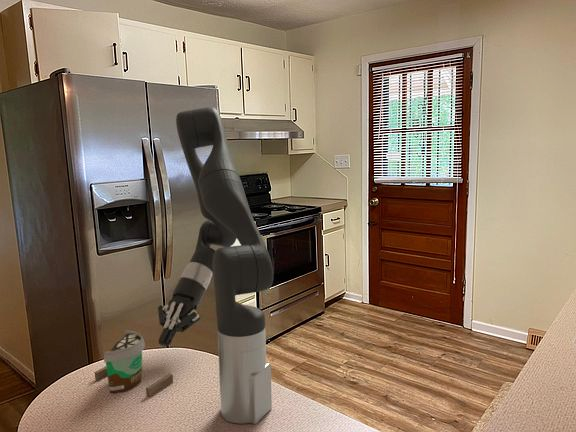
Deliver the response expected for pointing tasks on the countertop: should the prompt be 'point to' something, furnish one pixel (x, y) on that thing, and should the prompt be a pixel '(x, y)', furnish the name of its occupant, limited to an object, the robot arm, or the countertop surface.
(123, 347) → the food container
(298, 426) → the countertop surface
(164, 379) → the slot rails
